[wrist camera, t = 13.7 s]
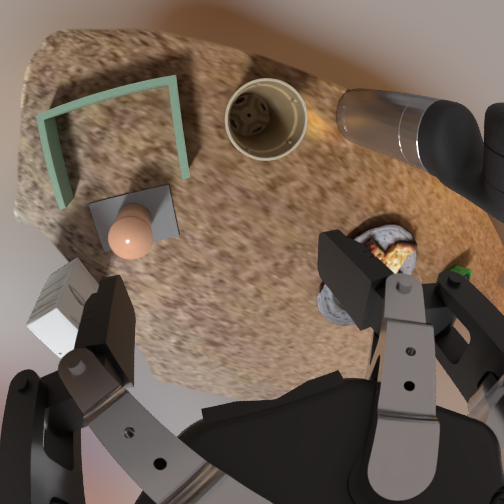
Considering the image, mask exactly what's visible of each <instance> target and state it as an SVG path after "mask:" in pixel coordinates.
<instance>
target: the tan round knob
mask: <svg viewBox="0 0 504 504" xmlns="http://www.w3.org/2000/svg"><path fill="white" fill-rule="evenodd" d="M151 223H152V218H151V214H150V212H149V210H148V209H147V208H146V207H145V206H143V205H141V204H138V203H130V204H127V205H125V206H123V207H122V208H121V209H120V210H119V212H118V214H117V217H116V220H115V222H114V223H113V225H112V226H111V228H110V231H109V234H108V241H109V245H110V247H111V249H112V250H113V252H114V253H115V254H117V255H118V256H120V257H122V258H124V259H138V258H140V257H142V256H144V255H145V254H147V253H148V251H149V250H150V248H151V246H152V242H153V234H152V230H151Z"/></svg>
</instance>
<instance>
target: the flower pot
mask: <svg viewBox="0 0 504 504" xmlns="http://www.w3.org/2000/svg"><path fill="white" fill-rule="evenodd" d="M241 98H244V101H242V102H240V103H238V104H236V100H238V99H241ZM261 103H262V104H263V105H264V107H265V111H264V110H263V108H261V107H262V106H261ZM248 114H250V115H251V116H250V117H248ZM230 120H233V122H234V124H235V125H236V128H235V127H234V126H233V125H232V124H231V123H230ZM307 124H308V113H307V108H306V105H305V102H304V100H303V99H302V97H301V95H300V94H299V93H298V92H297V91H296V90H295V89H294V88H293V87H292V86H290V85H289V84H287V83H285V82H283V81H281V80H278V79H272V78H261V79H256V80H253V81H250V82H248V83H246V84H244V85H243V86H241V87H240V88H239V89H238V90H237V91H236V92H235V93H234V94H233V95H232V97H231V98H230V100H229V102H228V105H227V107H226V111H225V127H226V131H227V134H228V137H229V139H230V140H231V142H232V143H233V145H234V146H235V147H236V148H237V149H238V150H239V151H240V152H241V153H243V154H244V155H246V156H248V157H250V158H253V159H257V160H263V161H264V160H266V161H269V160H275V159H279V158H281V157H283V156H286V155H287V154H289V153H290V152H292V151H293V150H294V149H295V148H296V147H297V146H298V145H299V143H300V142H301V140H302V139H303V137H304V135H305V132H306V129H307ZM259 127H261V129H260V130H259V131H258V132H255V133H254V132H253V131H254V130H256V129H258V128H259Z"/></svg>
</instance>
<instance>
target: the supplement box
mask: <svg viewBox="0 0 504 504" xmlns="http://www.w3.org/2000/svg"><path fill="white" fill-rule="evenodd" d="M98 287H99V284H98V282H97V281H96V280H95V279H94V278H93V277H92V275H91V274H90V273H89V271H88V270H87V269H86V268H85V266H84V265H83V264H82V262H81V261H80V259H79V258H78V257H77V258H75V259H74V260H72V261H71V262H69V263H68V264H66V265H64V266H63V267H62V268H60V269H58V270H57V271H56V272H54V273H53V274H51V275H50V276H49V278H48V280H47V282H46V284H45V285H44V288H43V290H42V292H41V294H40V296H39V298H38V300H37V302H36V304H35V307H34V309H33V311H32V313H31V316H30V318H29V320H28V322H27V324H26V326H27V327H28V328H29V329H30V330H31V331H32V332H33V333H34V334H35V335H36V336H37V337H38V338H39V339H40V340H41V341H42V342H43V343H44V344H45V345H46V346H47V347H48V348H50V349H51V350H52V351H53V352H54V353H55V354H56V355H57V356H58V357H60V358H61V357H63V356H64V355H65V354H67V353H68V352H69V351H71V350H73V349H74V345H75V341H76V336H77V332H78V328H79V324H80V322H81V321H80V320H81V316H82V314H83V313H82V312H83V308H84V305H85V302H86V301H87V300H88V298H89V297H90V295H91V294H92V293H97V291H98Z"/></svg>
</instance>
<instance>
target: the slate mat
mask: <svg viewBox="0 0 504 504" xmlns="http://www.w3.org/2000/svg"><path fill="white" fill-rule="evenodd" d="M130 203H138V204H141V205H143V206H145V207H146V208H147V209H148V210H149V212H150V214H151V218H152V223H151V230H152V234H153V242H154V241H159V240H163V239H168V238H173V237H177V236H179V232H178V227H177V223H176V218H175V213H174V209H173V204H172V199H171V194H170V189H169V185H164V186H160V187H155V188H151V189H146V190H142V191H138V192H133V193H129V194H125V195H121V196H117V197H113V198H109V199H105V200H101V201H98V202H94V203H90V204H89V208H90V211H91V214H92V218H93V221H94V224H95V227H96V230H97V233H98V236H99V239H100V242H101V245H102V247H103V250H104V253H105V252H110V251H113V250H112V249H111V247H110V245H109V241H108V234H109V231H110V228H111V226H112V225H113V223H114V222H115V220H116V217H117V214H118V212H119V210H120V209H121V208H122V207H123V206H125V205H127V204H130Z"/></svg>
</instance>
